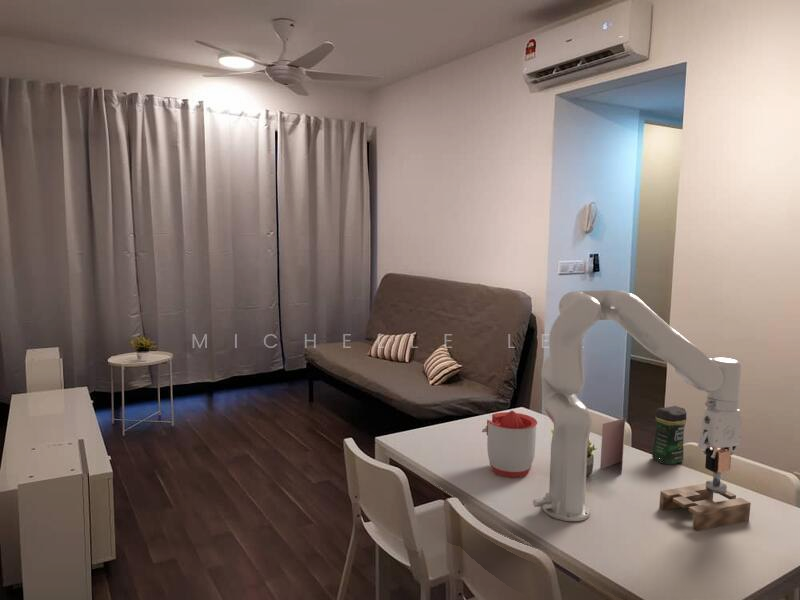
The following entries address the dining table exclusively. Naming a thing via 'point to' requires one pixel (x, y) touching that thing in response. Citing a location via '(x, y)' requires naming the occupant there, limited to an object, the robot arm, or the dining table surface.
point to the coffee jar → (669, 435)
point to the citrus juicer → (511, 443)
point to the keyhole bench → (706, 506)
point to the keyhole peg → (719, 471)
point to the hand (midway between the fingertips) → (717, 468)
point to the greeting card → (612, 443)
